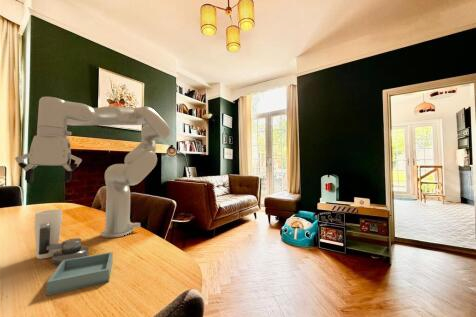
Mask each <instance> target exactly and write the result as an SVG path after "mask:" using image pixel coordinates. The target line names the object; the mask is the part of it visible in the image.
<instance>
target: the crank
mask: <svg viewBox="0 0 476 317" xmlns="http://www.w3.org/2000/svg"><path fill="white" fill-rule="evenodd" d="M50 224H51V223H45V224H41V225H40V236H39V255H42V254H46V253H49V250H53V249H58V250H59V249H60V250H61V253H64V254H66V253H73V252H76V251H79V250H80V249H81V246H82V238H80V237H75V238H70V239H65V240H63V241H61V242H59V243H58V244H50Z"/></svg>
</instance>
